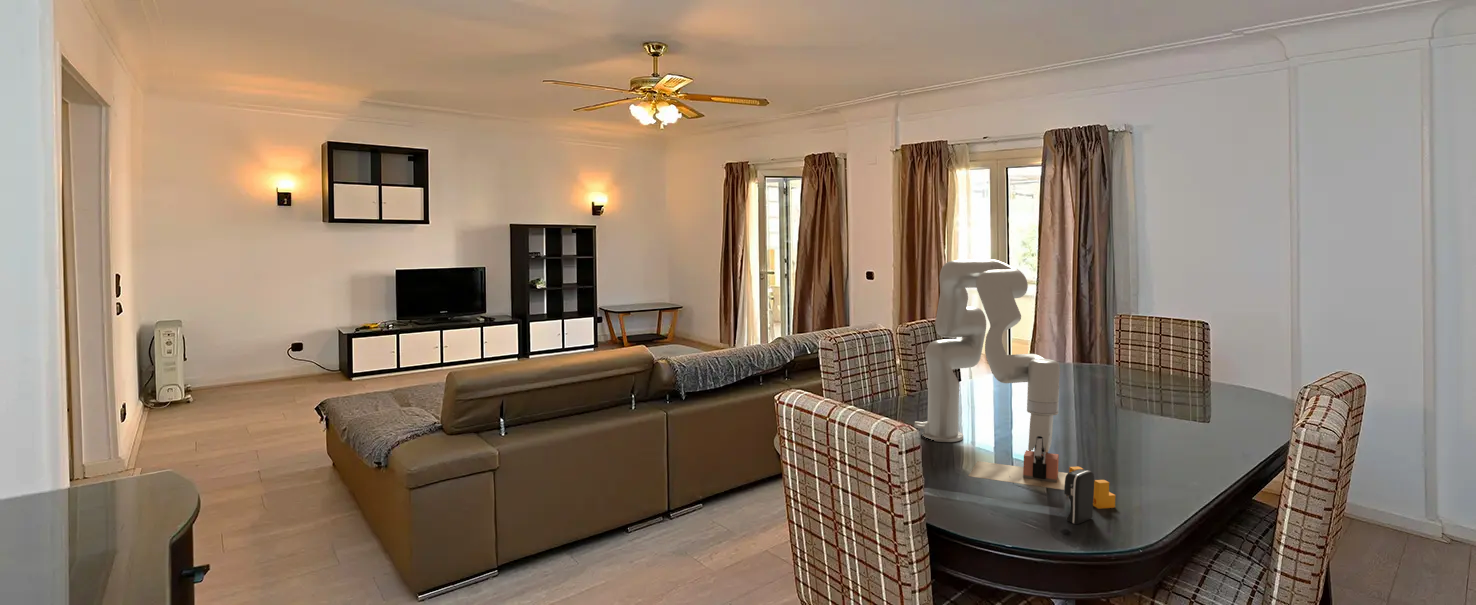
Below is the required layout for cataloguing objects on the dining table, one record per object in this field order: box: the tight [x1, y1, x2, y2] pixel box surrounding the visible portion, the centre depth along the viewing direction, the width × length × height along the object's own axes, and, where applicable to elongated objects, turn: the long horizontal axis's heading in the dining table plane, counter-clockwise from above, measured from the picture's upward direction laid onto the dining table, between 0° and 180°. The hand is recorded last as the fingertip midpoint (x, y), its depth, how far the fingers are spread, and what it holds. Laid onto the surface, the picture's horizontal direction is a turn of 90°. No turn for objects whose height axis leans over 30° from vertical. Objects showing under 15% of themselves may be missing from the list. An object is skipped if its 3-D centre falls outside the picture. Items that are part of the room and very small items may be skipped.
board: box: [967, 460, 1069, 497], centre depth 193 cm, size 24×14×2 cm, turn 62°
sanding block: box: [1022, 449, 1060, 482], centre depth 190 cm, size 8×5×6 cm, turn 62°
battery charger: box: [1063, 468, 1095, 525], centre depth 166 cm, size 7×4×11 cm, turn 124°
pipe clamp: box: [1068, 466, 1117, 509], centre depth 179 cm, size 12×4×6 cm, turn 8°
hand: (1040, 474), depth 190 cm, fingers closed on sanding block, 5 cm apart
